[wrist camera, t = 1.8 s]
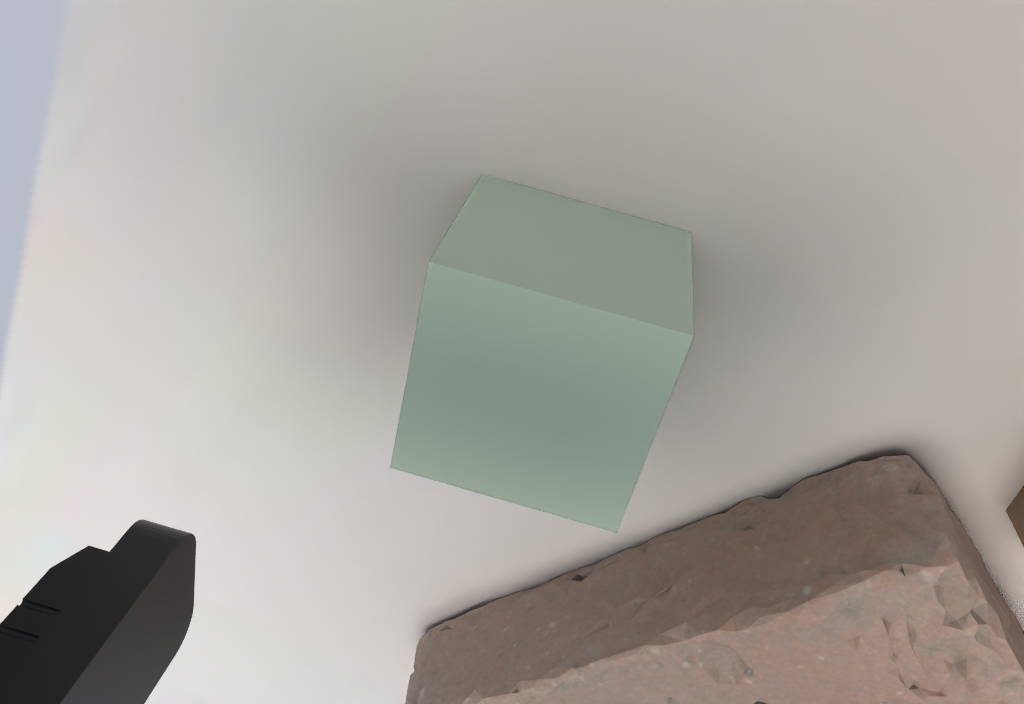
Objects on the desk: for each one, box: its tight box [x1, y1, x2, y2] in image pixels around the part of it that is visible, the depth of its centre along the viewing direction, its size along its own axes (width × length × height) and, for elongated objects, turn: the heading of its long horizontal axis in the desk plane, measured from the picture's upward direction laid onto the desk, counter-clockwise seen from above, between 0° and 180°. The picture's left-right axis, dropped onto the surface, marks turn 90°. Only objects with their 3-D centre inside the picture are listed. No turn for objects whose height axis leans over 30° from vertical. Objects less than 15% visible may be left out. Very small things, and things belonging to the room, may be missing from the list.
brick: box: [406, 455, 1024, 704], centre depth 24 cm, size 17×8×5 cm, turn 125°
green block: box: [390, 174, 694, 533], centre depth 19 cm, size 5×5×5 cm
